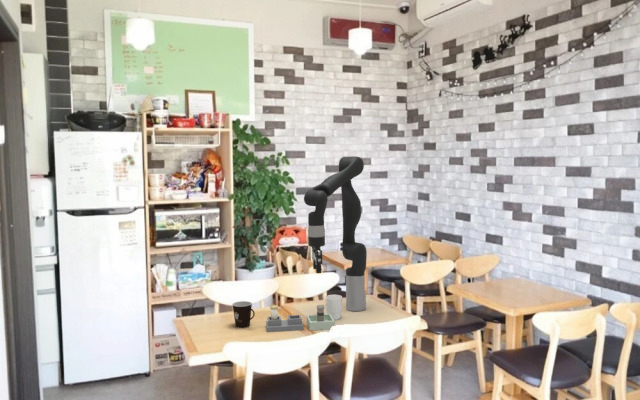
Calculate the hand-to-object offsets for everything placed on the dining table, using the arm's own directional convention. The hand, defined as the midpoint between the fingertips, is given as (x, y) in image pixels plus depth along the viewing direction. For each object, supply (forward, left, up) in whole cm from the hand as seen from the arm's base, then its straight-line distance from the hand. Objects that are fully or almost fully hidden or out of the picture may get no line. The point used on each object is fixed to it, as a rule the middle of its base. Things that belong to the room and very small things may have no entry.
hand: (317, 271), depth 234 cm
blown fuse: (-1, +2, -23) cm, 24 cm away
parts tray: (-1, +2, -24) cm, 25 cm away
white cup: (-9, -8, -25) cm, 27 cm away
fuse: (+20, +2, -22) cm, 30 cm away
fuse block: (+15, +2, -24) cm, 29 cm away
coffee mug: (+33, -3, -25) cm, 42 cm away
